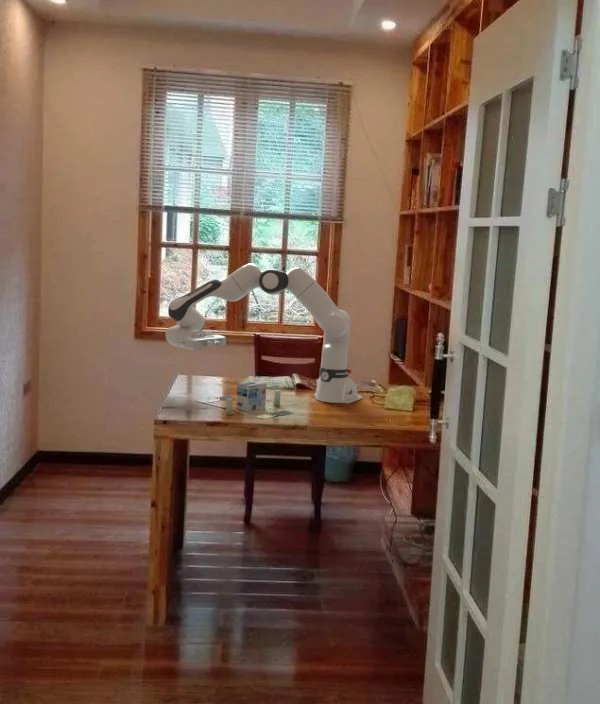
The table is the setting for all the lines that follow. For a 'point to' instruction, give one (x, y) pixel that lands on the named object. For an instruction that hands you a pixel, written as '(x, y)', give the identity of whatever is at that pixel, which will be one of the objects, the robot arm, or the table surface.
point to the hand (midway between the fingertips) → (217, 344)
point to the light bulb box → (251, 395)
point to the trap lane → (276, 402)
